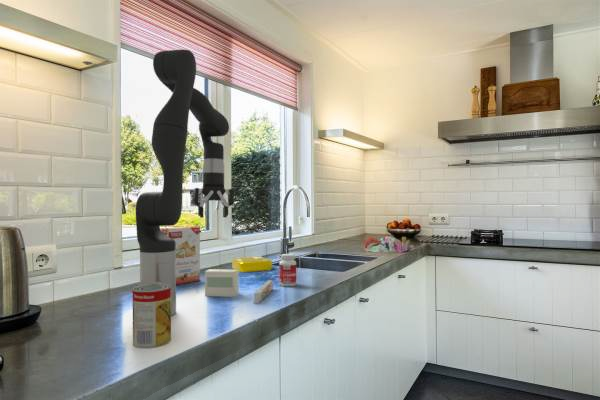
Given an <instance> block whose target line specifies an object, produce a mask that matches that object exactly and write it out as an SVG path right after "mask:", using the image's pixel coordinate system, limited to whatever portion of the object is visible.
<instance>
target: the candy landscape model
mask: <svg viewBox="0 0 600 400" xmlns="http://www.w3.org/2000/svg"><path fill="white" fill-rule="evenodd" d="M373 243H374V244H373ZM410 243H411V240H410V239H407V237H406V236H402V237H401V240H400V239H397V237H393V236H388V235H387V236H385V237H381V238H380V239H379V240H378V239H377V238H376V237H375V238H373V237H372V236H367V238H366V241H365V242H364V245H363V247H364V249H365V250H367V251H366V252H368V251H373V252H389V251H396V250H398V251H402V250H403V251H407V250H409V248H408V247H409V245H410ZM371 244H373V245H371ZM369 245H371V247H368V246H369ZM365 250H364V251H365ZM373 252H372V253H373Z"/></svg>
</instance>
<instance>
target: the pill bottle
mask: <svg viewBox="0 0 600 400" xmlns="http://www.w3.org/2000/svg"><path fill="white" fill-rule="evenodd" d="M280 258H281V260H280V261H279V265H278V267H279V271H278V274H279V277H278V282H279V286H281V287H295V286H296V285H297V261H296V260H295V254H293V253H283V254H281V255H280Z"/></svg>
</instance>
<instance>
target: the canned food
mask: <svg viewBox="0 0 600 400" xmlns="http://www.w3.org/2000/svg"><path fill="white" fill-rule="evenodd" d="M171 341H172V315H171V286H170V285H169V284H159V283H157V284H145V285H136V286H133V288H132V345H133V346H134V347H136V348H139V349H152V348H158V347H162V346H165V345H167V344H170V342H171Z"/></svg>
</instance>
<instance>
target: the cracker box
mask: <svg viewBox="0 0 600 400" xmlns="http://www.w3.org/2000/svg"><path fill="white" fill-rule="evenodd" d="M160 230H161V232H162V233H163V234H164V235H166V236H168V237H170V238H172V239H174V240H175V244H176V249H175V250H176V285H180V284H181V285H182V284H188V283H193V282H197V281H200V278H201V276H200V274H201V273H200V267H201V265H200V264H201V227H200V226H190V225H189V226H174V227H173V226H172V227H171V226H170V227H160Z"/></svg>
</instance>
